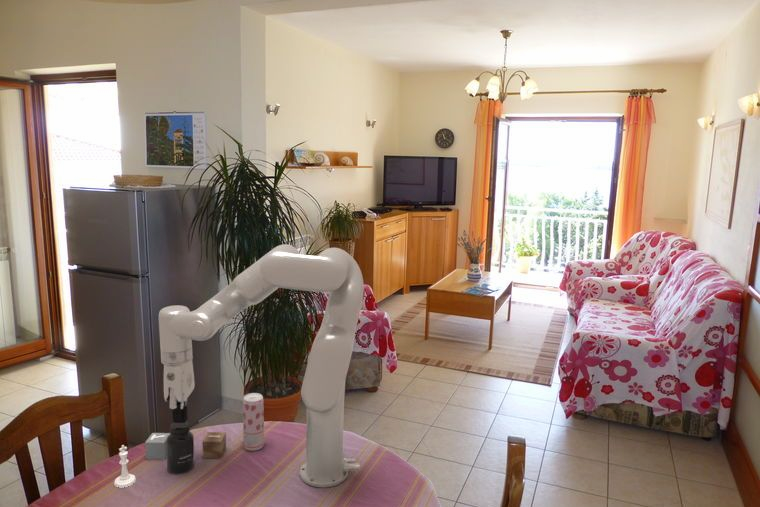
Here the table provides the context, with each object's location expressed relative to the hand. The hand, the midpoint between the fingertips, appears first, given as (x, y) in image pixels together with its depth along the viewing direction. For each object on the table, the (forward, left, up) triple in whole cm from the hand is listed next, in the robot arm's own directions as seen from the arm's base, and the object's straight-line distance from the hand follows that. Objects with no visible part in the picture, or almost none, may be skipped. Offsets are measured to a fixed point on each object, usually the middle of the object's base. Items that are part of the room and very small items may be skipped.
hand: (180, 421), depth 143 cm
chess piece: (+12, +7, -13) cm, 19 cm away
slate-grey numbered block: (+8, -6, -13) cm, 17 cm away
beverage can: (-17, -11, -13) cm, 24 cm away
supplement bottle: (0, 0, -13) cm, 13 cm away
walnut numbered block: (-7, -7, -13) cm, 16 cm away
